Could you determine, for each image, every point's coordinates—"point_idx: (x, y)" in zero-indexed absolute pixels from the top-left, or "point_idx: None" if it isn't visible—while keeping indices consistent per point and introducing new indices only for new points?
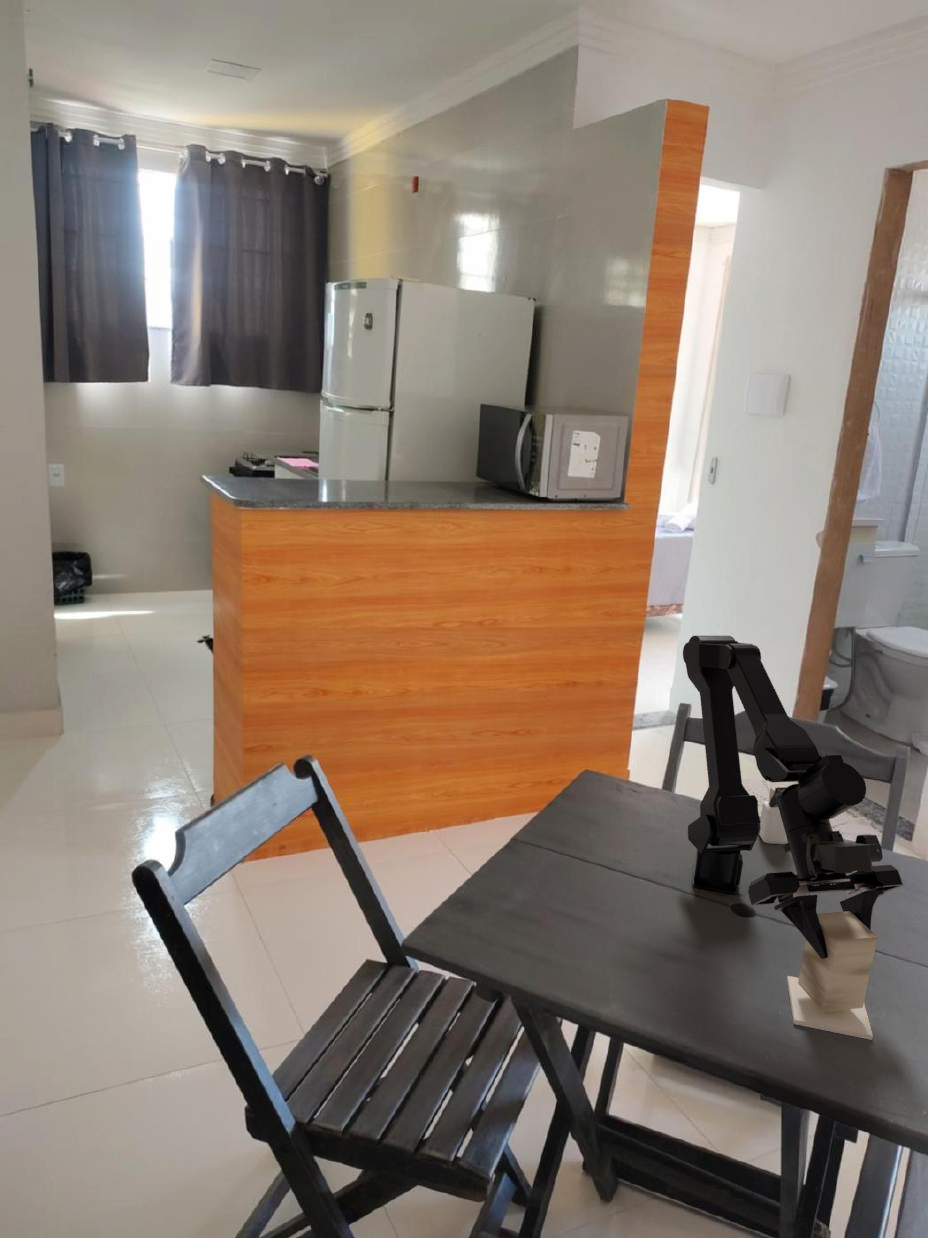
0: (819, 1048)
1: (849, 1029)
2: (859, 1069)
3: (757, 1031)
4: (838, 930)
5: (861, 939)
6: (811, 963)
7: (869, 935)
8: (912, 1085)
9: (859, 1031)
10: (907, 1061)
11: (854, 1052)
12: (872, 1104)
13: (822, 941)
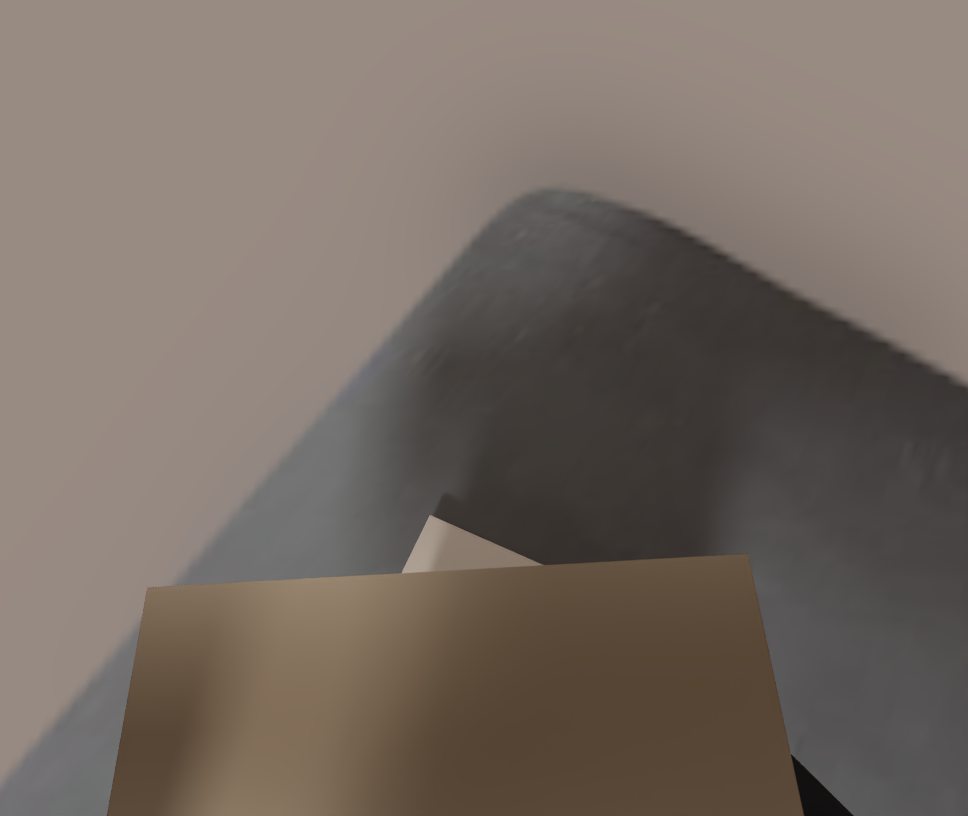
0: (686, 496)
1: (510, 562)
2: (579, 382)
3: (948, 628)
4: (616, 807)
5: (380, 579)
6: None
7: (223, 634)
8: (434, 307)
9: (471, 546)
10: (371, 405)
11: (548, 463)
12: (621, 247)
13: None
